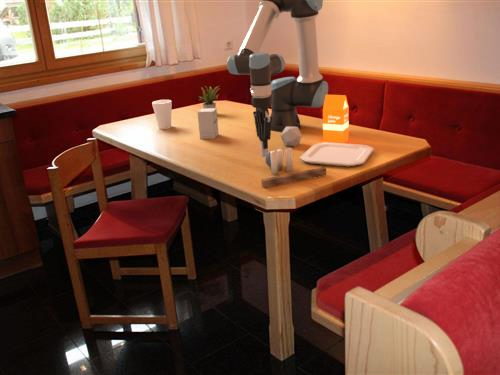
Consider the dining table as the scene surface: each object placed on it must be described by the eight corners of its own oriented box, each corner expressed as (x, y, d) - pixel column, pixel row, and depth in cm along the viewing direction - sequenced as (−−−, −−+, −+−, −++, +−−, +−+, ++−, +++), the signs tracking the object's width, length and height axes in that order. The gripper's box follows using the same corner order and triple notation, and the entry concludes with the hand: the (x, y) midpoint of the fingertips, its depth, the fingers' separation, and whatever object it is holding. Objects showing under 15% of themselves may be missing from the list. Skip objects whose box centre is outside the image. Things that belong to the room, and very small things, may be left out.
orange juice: (329, 138, 228) (328, 92, 221) (348, 139, 224) (349, 93, 217) (322, 143, 222) (322, 96, 214) (343, 145, 218) (343, 97, 210)
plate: (361, 170, 188) (361, 165, 188) (296, 165, 199) (296, 159, 198) (376, 150, 209) (376, 145, 208) (316, 146, 219) (316, 141, 219)
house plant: (230, 112, 286) (227, 82, 280) (218, 118, 274) (216, 87, 268) (207, 111, 292) (204, 81, 286) (194, 117, 280) (191, 86, 274)
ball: (285, 157, 193) (282, 169, 197) (279, 147, 197) (275, 159, 201) (270, 159, 191) (267, 171, 195) (264, 148, 195) (261, 160, 199)
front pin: (279, 165, 195) (282, 148, 189) (282, 169, 194) (285, 152, 188) (273, 166, 194) (276, 149, 188) (276, 170, 193) (279, 153, 187)
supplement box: (215, 138, 238) (212, 111, 234) (199, 139, 240) (196, 111, 235) (219, 134, 245) (216, 107, 240) (204, 134, 246) (201, 108, 242)
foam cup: (152, 129, 262) (148, 103, 257) (161, 124, 270) (158, 99, 265) (168, 130, 258) (165, 104, 254) (177, 125, 266) (174, 99, 261)
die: (290, 150, 217) (303, 131, 215) (274, 139, 219) (287, 120, 217) (295, 152, 224) (308, 133, 222) (279, 140, 227) (292, 122, 225)
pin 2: (291, 169, 193) (290, 147, 190) (294, 171, 191) (293, 149, 188) (285, 170, 193) (284, 148, 189) (288, 172, 190) (287, 150, 187)
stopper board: (323, 173, 187) (323, 167, 186) (326, 175, 185) (326, 168, 184) (261, 186, 179) (261, 179, 178) (264, 188, 177) (263, 181, 176)
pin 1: (276, 172, 191) (275, 150, 188) (279, 174, 189) (278, 151, 186) (270, 173, 191) (269, 151, 187) (273, 175, 188) (272, 152, 185)
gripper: (245, 94, 200) (249, 153, 209) (258, 100, 189) (262, 162, 197) (263, 91, 203) (266, 150, 211) (277, 97, 191) (280, 158, 200)
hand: (264, 155), depth 204 cm, fingers closed
